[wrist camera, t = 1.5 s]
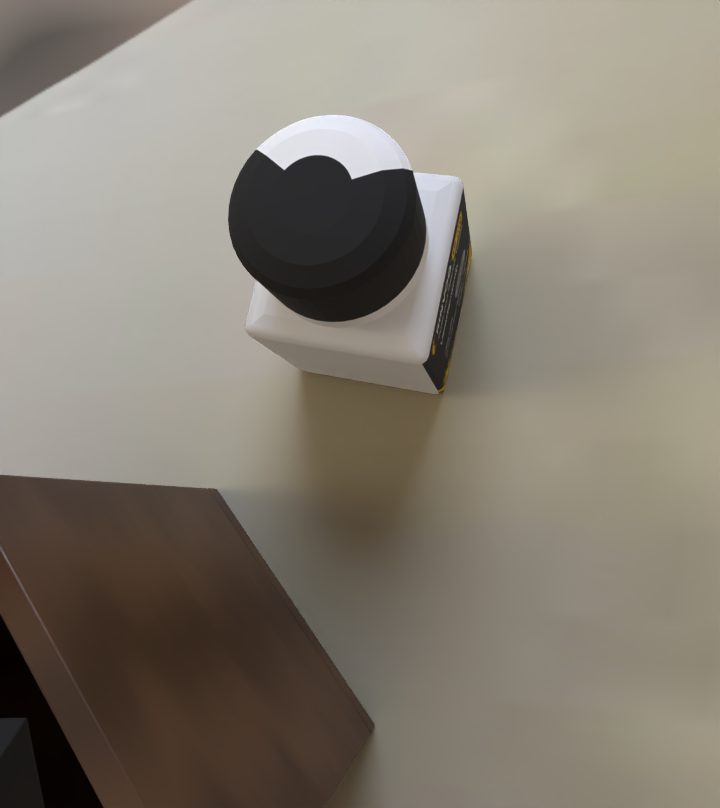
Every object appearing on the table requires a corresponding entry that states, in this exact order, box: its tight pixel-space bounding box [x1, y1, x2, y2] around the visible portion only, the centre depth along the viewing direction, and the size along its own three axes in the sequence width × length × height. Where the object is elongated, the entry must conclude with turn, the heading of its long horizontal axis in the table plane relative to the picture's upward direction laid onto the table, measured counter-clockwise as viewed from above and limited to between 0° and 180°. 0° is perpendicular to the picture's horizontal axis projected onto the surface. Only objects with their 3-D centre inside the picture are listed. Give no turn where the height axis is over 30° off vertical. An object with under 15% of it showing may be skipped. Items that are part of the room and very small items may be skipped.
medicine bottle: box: [228, 115, 472, 394], centre depth 25 cm, size 7×7×12 cm
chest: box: [0, 475, 374, 808], centre depth 23 cm, size 13×13×15 cm
